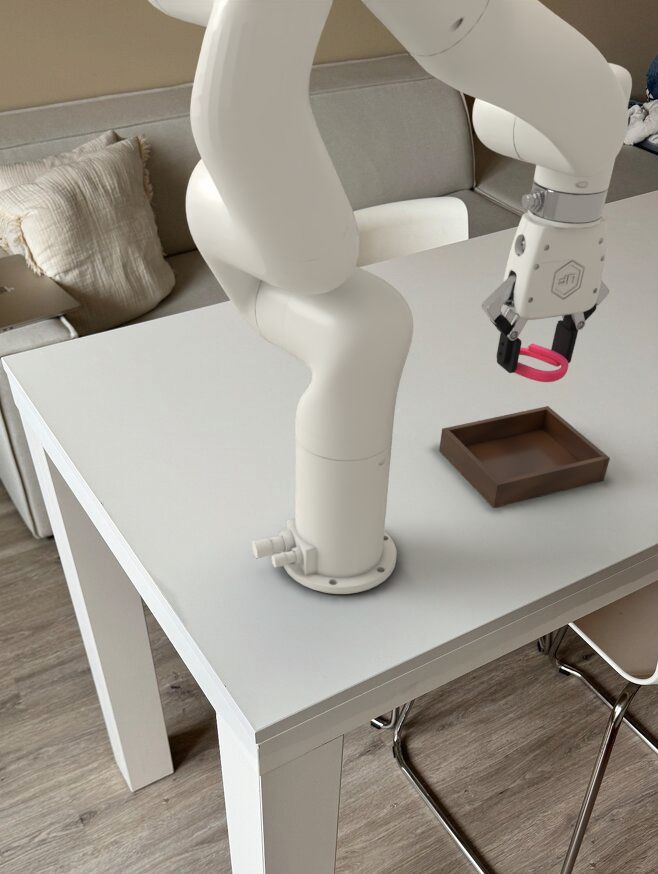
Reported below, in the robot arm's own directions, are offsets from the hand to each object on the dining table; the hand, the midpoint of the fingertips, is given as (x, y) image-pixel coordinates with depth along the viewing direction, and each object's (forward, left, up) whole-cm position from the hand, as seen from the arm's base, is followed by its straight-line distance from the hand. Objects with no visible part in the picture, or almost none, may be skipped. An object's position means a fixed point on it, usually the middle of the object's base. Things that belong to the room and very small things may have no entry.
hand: (533, 361), depth 103 cm
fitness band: (0, 0, -1) cm, 1 cm away
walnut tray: (+1, -1, -14) cm, 14 cm away
